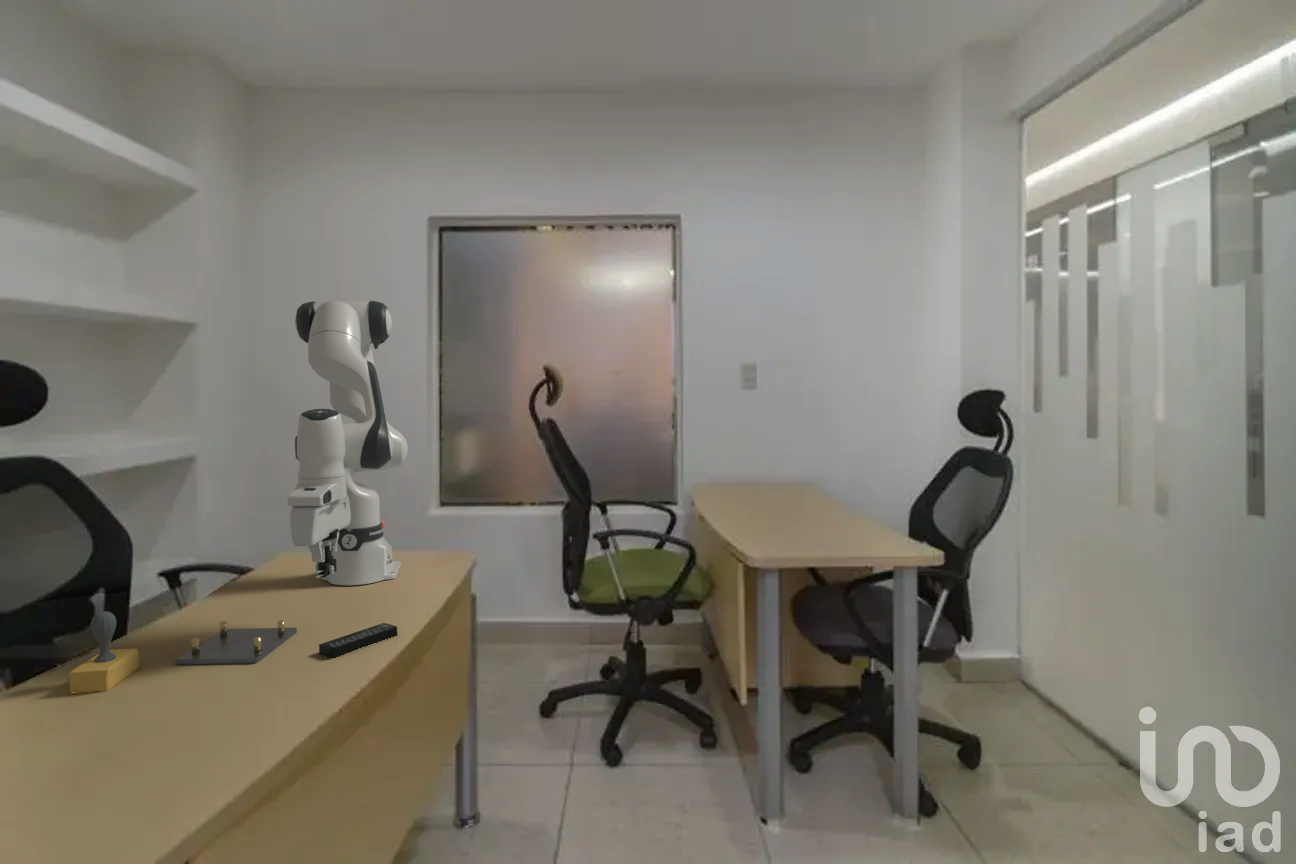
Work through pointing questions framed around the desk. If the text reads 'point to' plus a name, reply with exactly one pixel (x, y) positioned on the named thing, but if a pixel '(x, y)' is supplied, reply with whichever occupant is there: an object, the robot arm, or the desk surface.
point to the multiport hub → (357, 640)
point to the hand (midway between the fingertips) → (324, 557)
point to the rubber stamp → (104, 660)
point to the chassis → (237, 645)
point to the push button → (327, 557)
